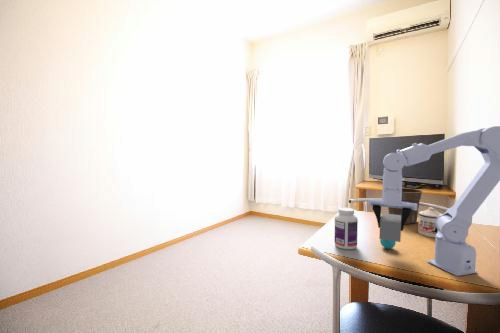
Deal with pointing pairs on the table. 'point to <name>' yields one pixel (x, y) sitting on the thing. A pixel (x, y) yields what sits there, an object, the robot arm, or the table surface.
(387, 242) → the ball
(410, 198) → the plant pot
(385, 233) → the grey block
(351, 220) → the pill bottle
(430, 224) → the teacup with lid
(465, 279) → the table surface
